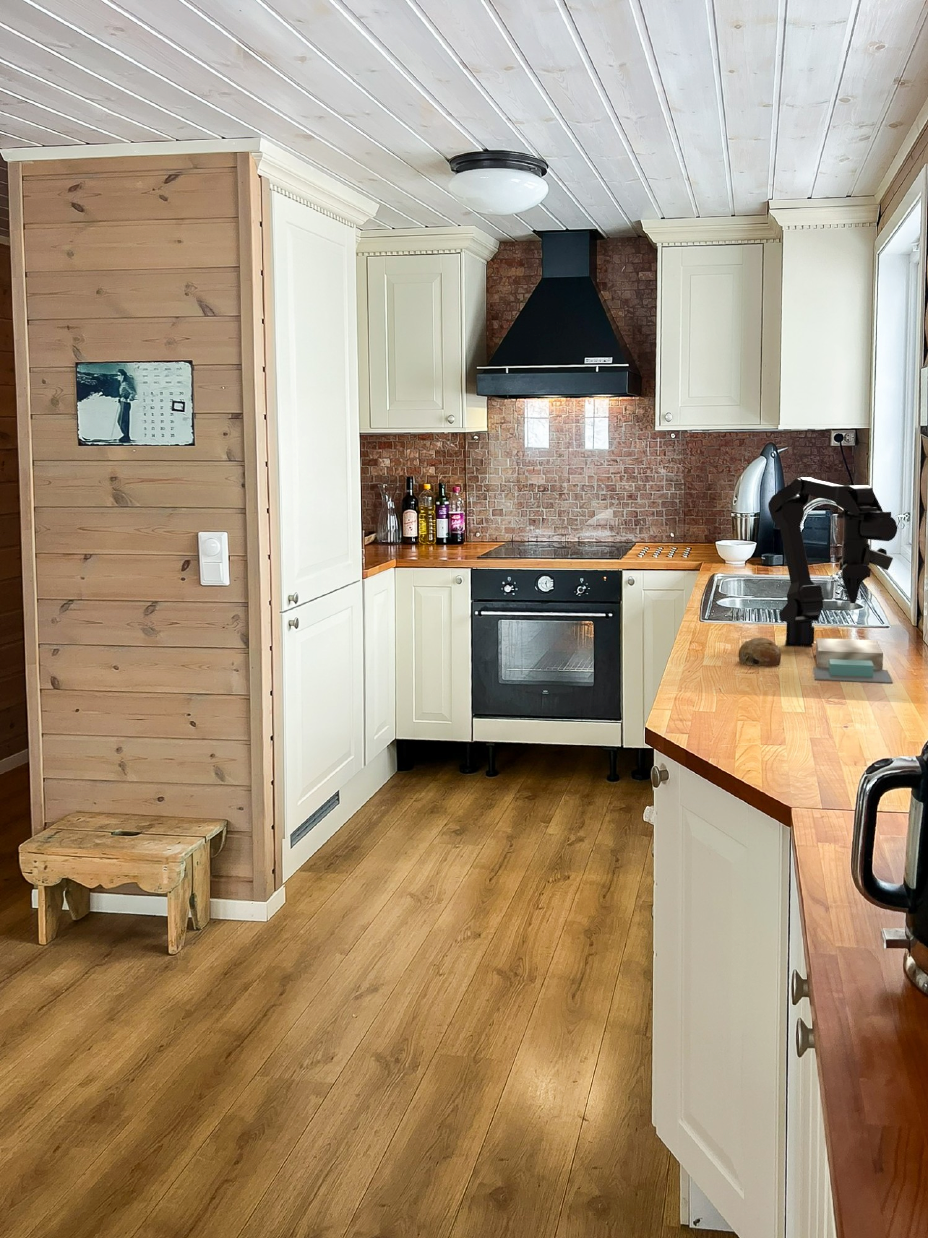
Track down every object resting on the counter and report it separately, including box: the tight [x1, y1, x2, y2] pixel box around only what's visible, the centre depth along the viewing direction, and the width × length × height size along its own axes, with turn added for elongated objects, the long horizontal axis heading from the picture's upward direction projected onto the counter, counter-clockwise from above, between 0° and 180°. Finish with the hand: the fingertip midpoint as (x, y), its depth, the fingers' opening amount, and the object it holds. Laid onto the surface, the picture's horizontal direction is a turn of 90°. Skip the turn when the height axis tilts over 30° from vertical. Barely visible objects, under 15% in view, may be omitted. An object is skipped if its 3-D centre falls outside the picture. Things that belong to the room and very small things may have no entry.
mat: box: [812, 666, 893, 684], centre depth 256 cm, size 16×14×1 cm
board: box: [815, 637, 884, 670], centre depth 272 cm, size 14×18×4 cm
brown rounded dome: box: [737, 636, 782, 668], centre depth 272 cm, size 10×10×8 cm
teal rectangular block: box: [829, 659, 873, 677], centre depth 257 cm, size 9×6×2 cm, turn 75°
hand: (852, 603), depth 278 cm, fingers closed
